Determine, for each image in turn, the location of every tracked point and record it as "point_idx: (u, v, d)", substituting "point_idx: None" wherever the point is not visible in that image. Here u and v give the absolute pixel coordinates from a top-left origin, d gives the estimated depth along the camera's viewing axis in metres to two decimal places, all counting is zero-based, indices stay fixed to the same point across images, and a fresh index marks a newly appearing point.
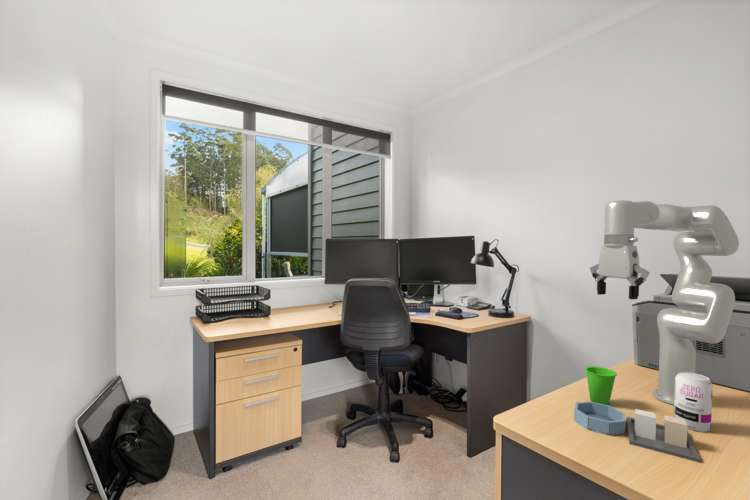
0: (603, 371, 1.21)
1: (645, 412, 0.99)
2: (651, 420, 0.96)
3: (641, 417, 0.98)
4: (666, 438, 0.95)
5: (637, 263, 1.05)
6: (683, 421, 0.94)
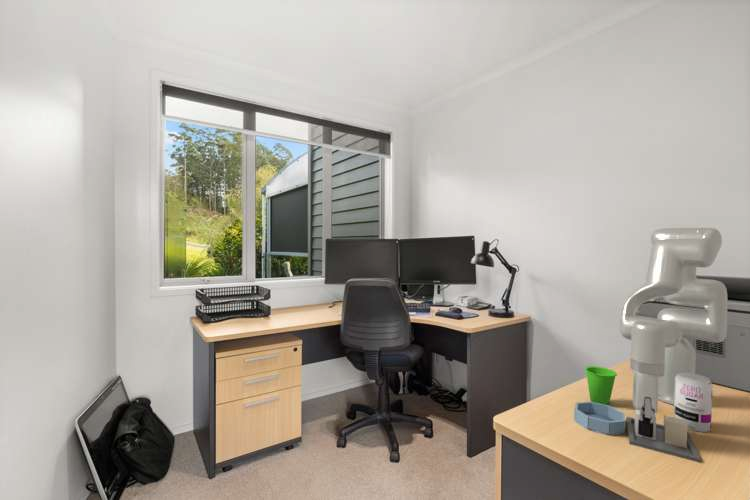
0: (603, 371, 1.21)
1: None
2: None
3: None
4: (666, 438, 0.95)
5: None
6: (683, 421, 0.94)
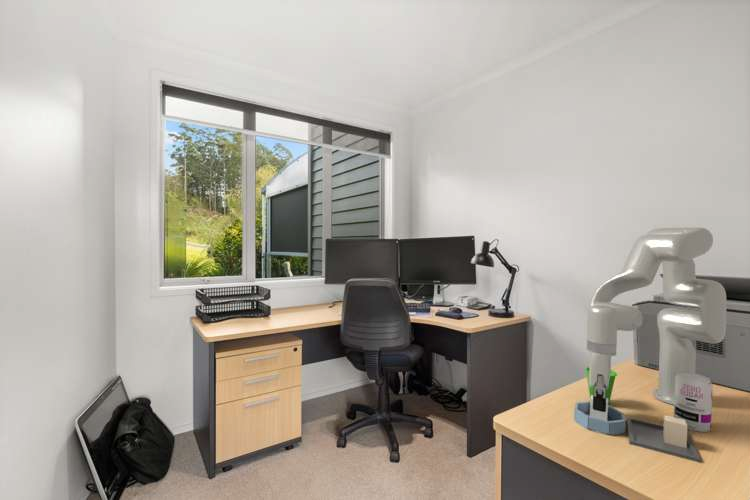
0: None
1: None
2: None
3: None
4: (666, 438, 0.95)
5: None
6: (683, 421, 0.94)
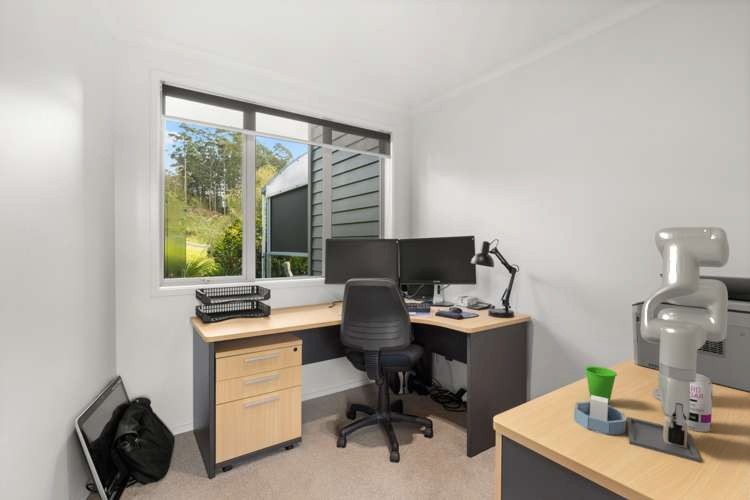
0: (603, 371, 1.21)
1: (599, 398, 1.07)
2: (603, 404, 1.04)
3: (595, 402, 1.06)
4: (666, 438, 0.95)
5: None
6: None
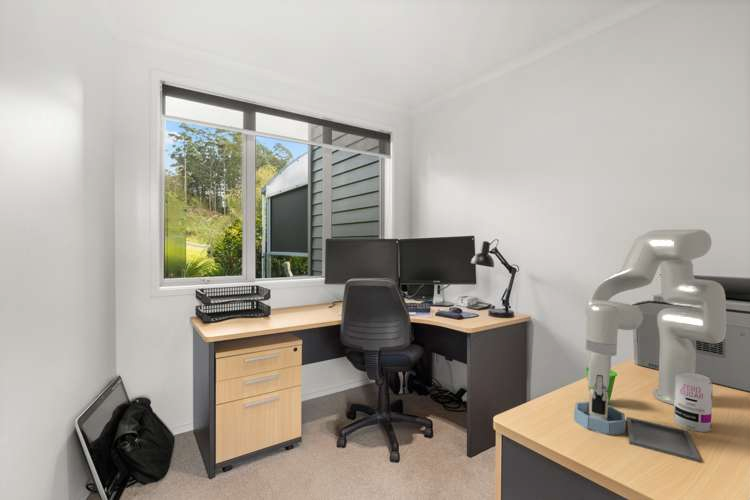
0: None
1: None
2: None
3: None
4: (590, 409, 1.02)
5: None
6: (605, 393, 1.02)
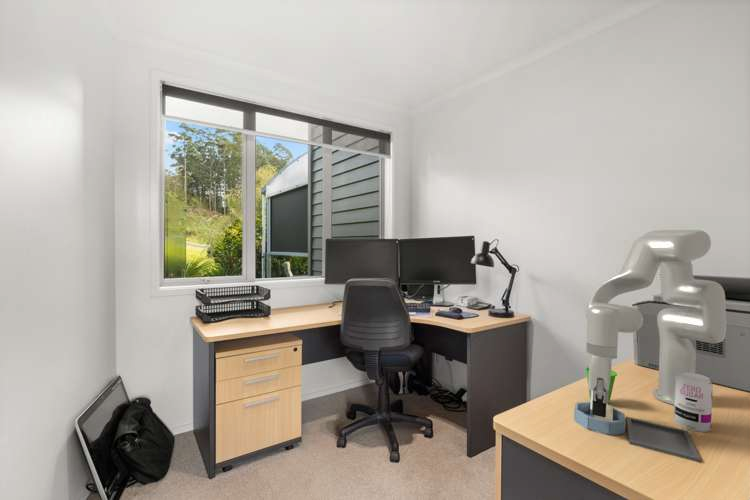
0: None
1: None
2: None
3: None
4: None
5: None
6: (610, 407, 1.01)
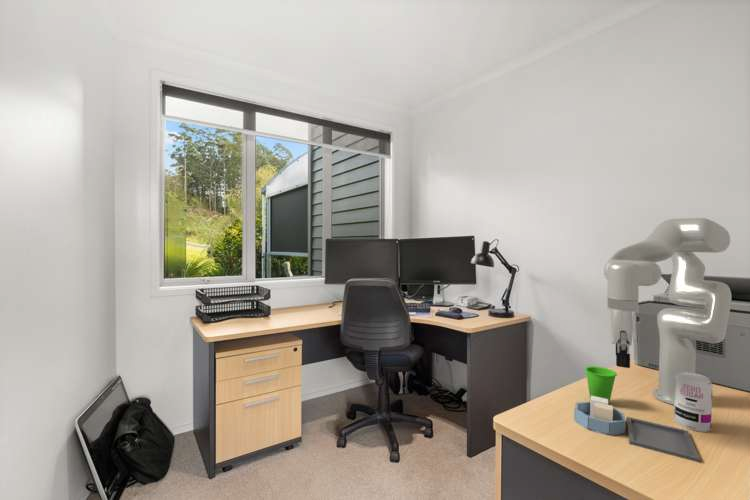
0: (603, 371, 1.21)
1: (599, 398, 1.07)
2: None
3: None
4: None
5: None
6: (610, 407, 1.01)
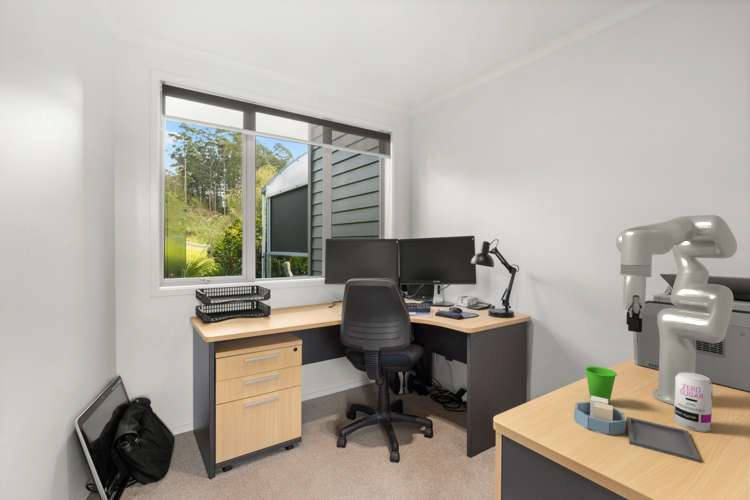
0: (603, 371, 1.21)
1: (599, 398, 1.07)
2: None
3: None
4: None
5: None
6: (610, 407, 1.01)
